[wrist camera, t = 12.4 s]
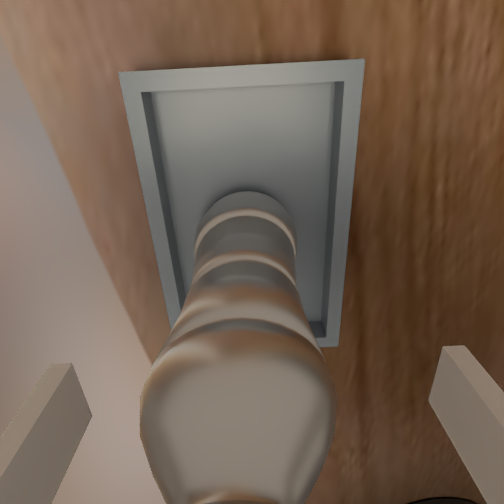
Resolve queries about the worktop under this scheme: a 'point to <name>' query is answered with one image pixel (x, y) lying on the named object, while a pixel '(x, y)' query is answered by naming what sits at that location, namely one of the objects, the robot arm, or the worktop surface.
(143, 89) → the tray
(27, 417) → the robot arm
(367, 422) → the worktop surface
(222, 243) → the plastic bottle
